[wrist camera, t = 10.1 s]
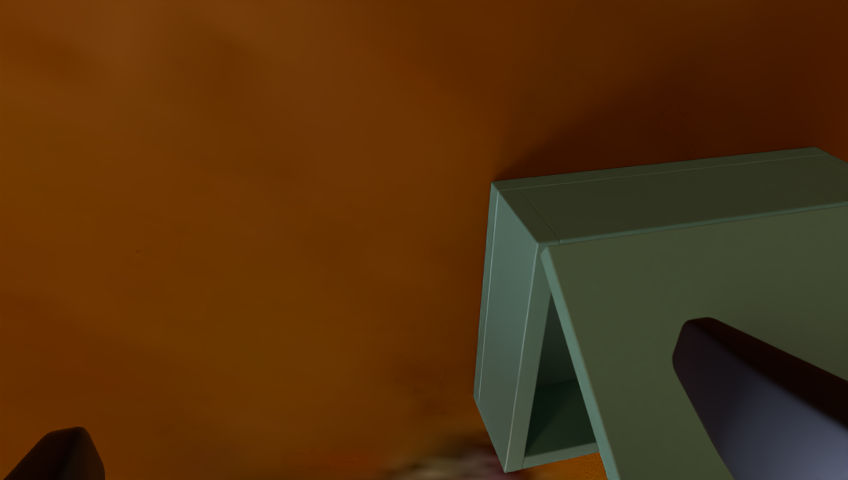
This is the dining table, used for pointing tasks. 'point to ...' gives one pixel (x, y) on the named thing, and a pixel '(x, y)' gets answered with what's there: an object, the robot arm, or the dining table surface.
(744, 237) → the box lid
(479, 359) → the keepsake box
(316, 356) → the dining table surface
